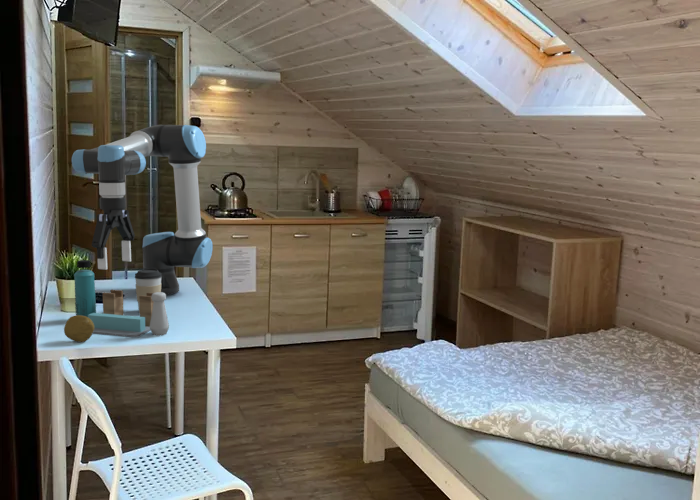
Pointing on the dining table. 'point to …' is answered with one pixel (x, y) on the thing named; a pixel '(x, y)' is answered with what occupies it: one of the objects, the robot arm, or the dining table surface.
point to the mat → (121, 332)
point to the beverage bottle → (84, 290)
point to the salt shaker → (159, 315)
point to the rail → (118, 322)
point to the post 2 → (146, 308)
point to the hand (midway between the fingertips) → (115, 265)
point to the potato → (79, 328)
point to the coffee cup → (147, 282)
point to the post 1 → (113, 302)
